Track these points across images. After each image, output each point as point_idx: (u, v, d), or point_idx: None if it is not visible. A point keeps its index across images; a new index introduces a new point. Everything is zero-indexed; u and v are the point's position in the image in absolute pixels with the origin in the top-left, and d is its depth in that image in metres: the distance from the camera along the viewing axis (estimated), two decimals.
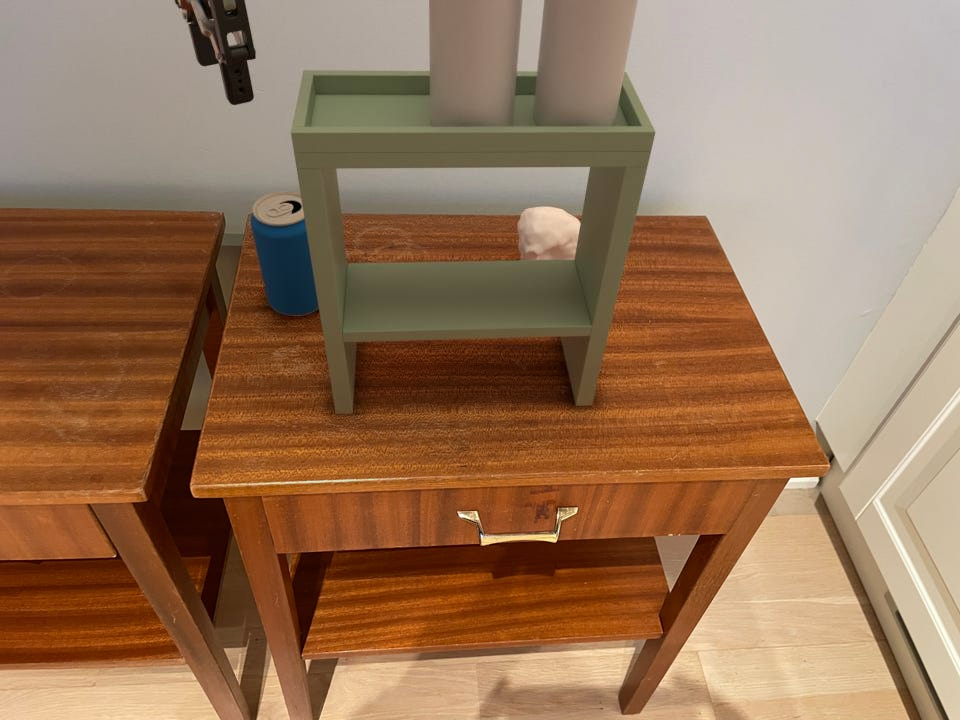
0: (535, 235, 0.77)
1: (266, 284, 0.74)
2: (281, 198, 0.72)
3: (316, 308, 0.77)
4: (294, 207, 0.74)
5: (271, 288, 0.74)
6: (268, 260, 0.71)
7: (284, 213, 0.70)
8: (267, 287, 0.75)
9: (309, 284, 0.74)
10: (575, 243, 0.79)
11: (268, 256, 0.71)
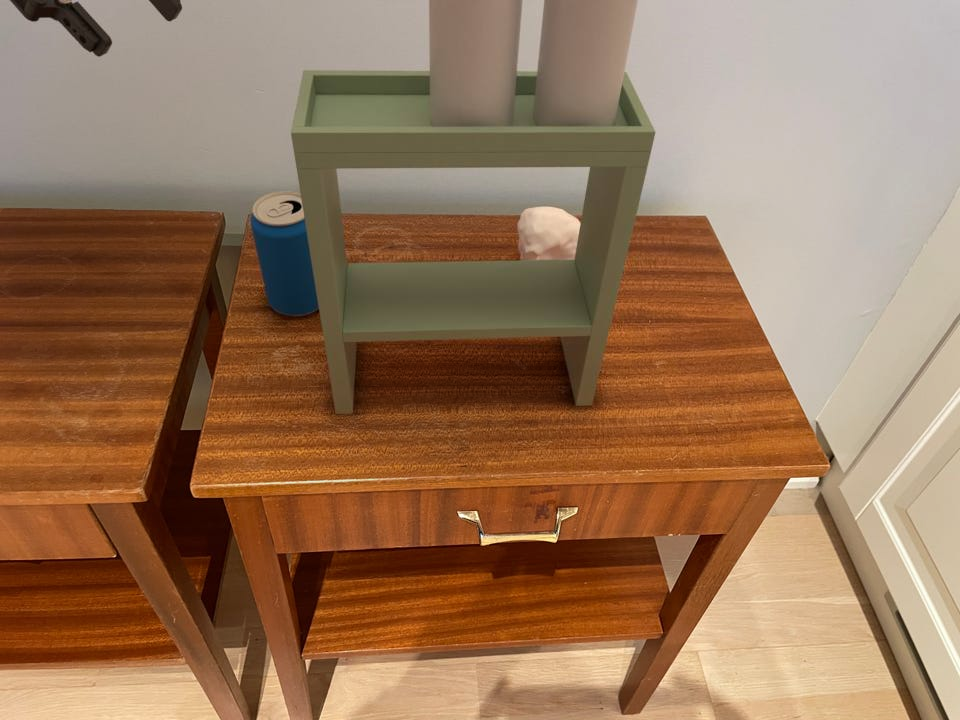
0: (535, 235, 0.77)
1: (266, 284, 0.74)
2: (281, 198, 0.72)
3: (316, 308, 0.77)
4: (294, 207, 0.74)
5: (271, 288, 0.74)
6: (268, 260, 0.71)
7: (284, 213, 0.70)
8: (267, 287, 0.75)
9: (309, 284, 0.74)
10: (575, 243, 0.79)
11: (268, 256, 0.71)
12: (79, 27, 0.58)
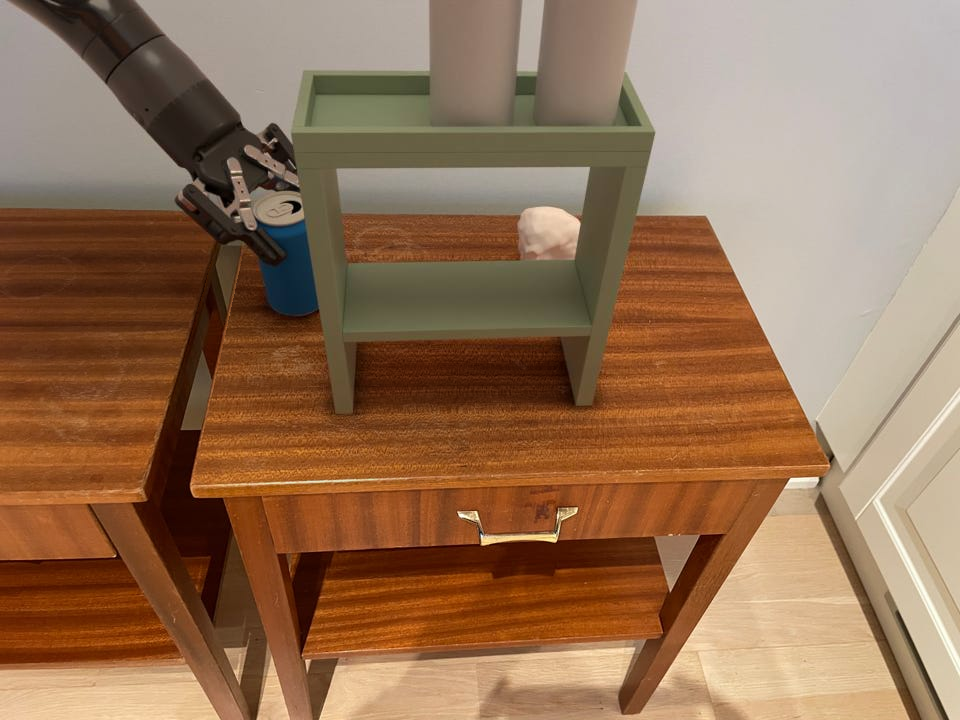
0: (535, 235, 0.77)
1: (266, 284, 0.74)
2: (280, 198, 0.72)
3: (316, 308, 0.77)
4: (294, 207, 0.74)
5: (271, 288, 0.74)
6: None
7: (284, 213, 0.70)
8: (267, 287, 0.75)
9: (309, 284, 0.74)
10: (575, 243, 0.79)
11: None
12: (262, 248, 0.68)
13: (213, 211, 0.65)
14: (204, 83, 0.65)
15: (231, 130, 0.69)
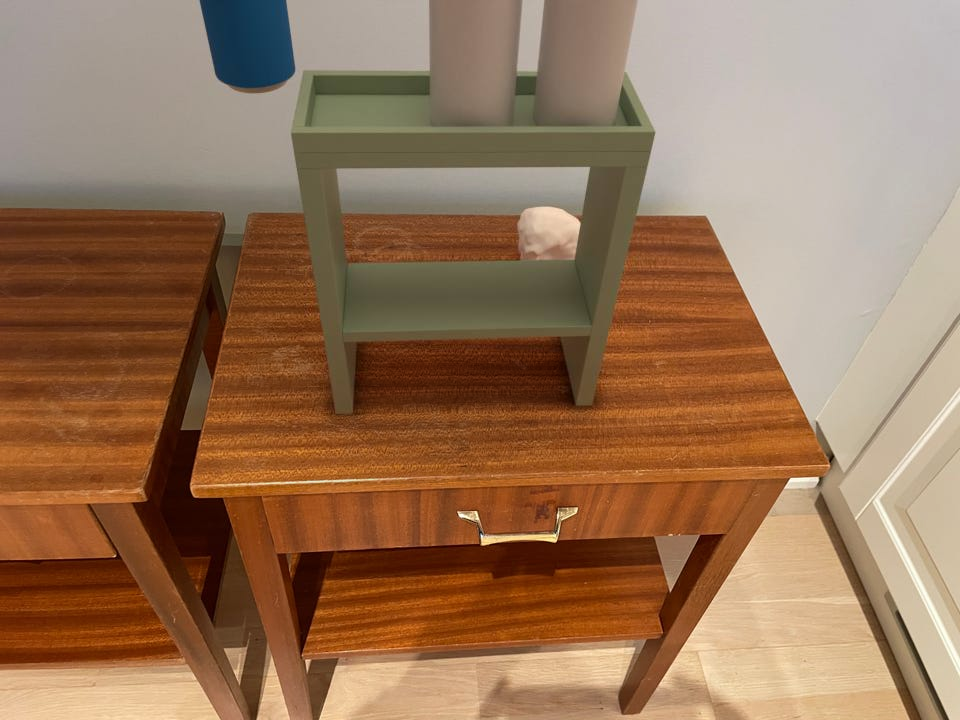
0: (535, 235, 0.77)
1: (211, 41, 0.57)
2: None
3: (278, 81, 0.59)
4: None
5: (217, 45, 0.56)
6: None
7: None
8: (212, 46, 0.57)
9: (267, 39, 0.56)
10: (575, 243, 0.79)
11: None
12: None
13: None
14: None
15: None
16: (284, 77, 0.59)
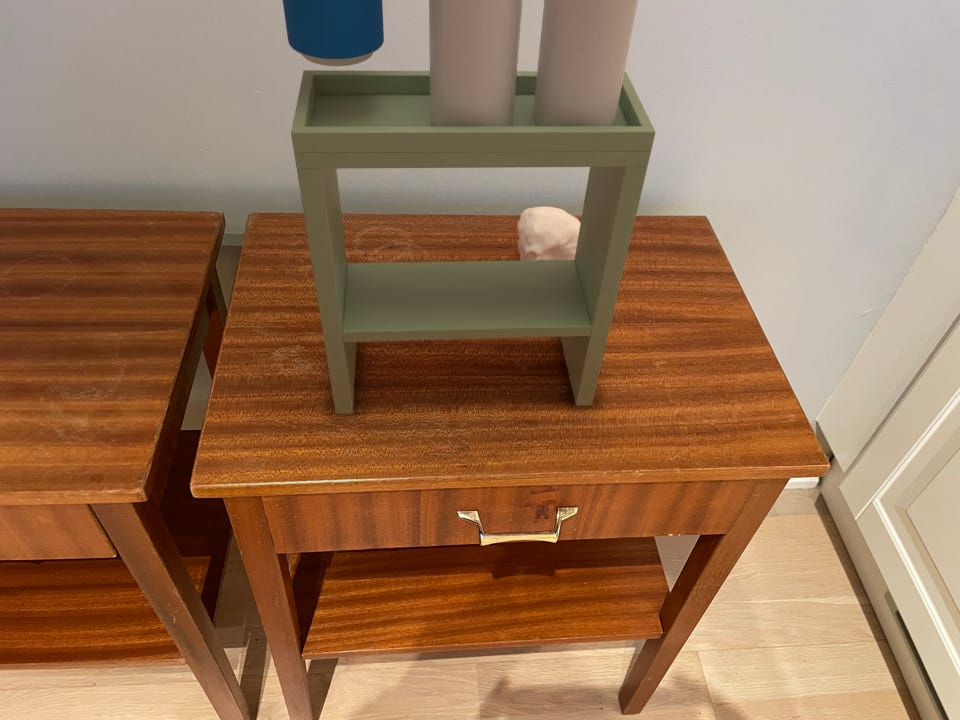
0: (535, 235, 0.77)
1: (288, 0, 0.46)
2: None
3: (366, 52, 0.48)
4: None
5: (296, 5, 0.46)
6: None
7: None
8: (290, 6, 0.46)
9: None
10: (575, 243, 0.79)
11: None
12: None
13: None
14: None
15: None
16: (373, 46, 0.49)
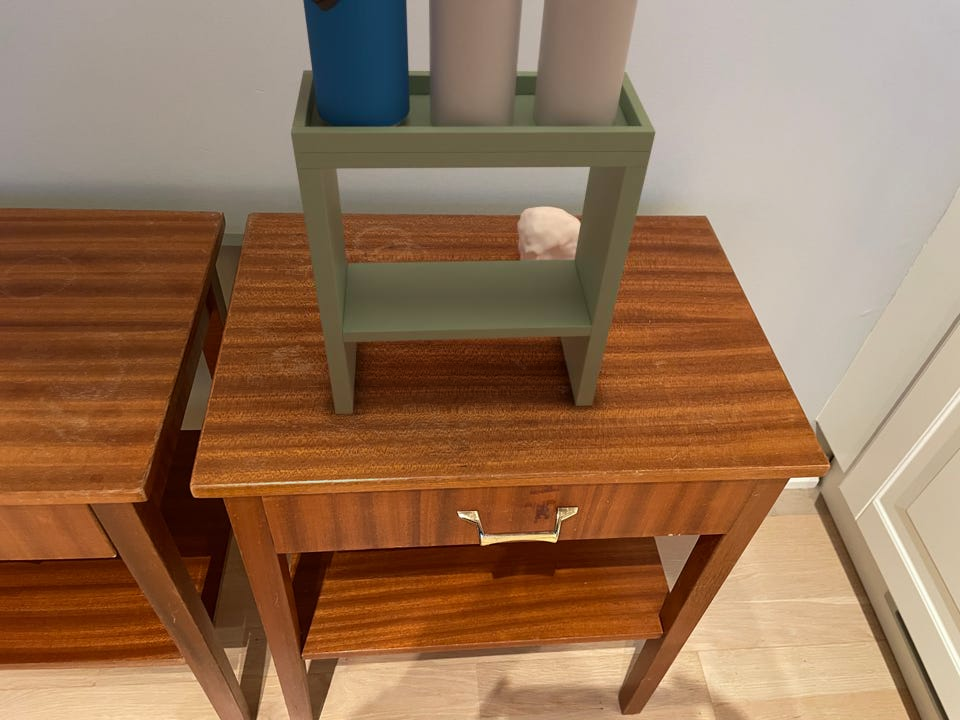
0: (535, 235, 0.77)
1: (319, 77, 0.48)
2: None
3: (393, 123, 0.50)
4: None
5: (327, 82, 0.47)
6: (325, 24, 0.44)
7: None
8: (320, 83, 0.48)
9: (387, 74, 0.47)
10: (575, 243, 0.79)
11: (327, 15, 0.44)
12: None
13: None
14: None
15: None
16: (400, 117, 0.50)
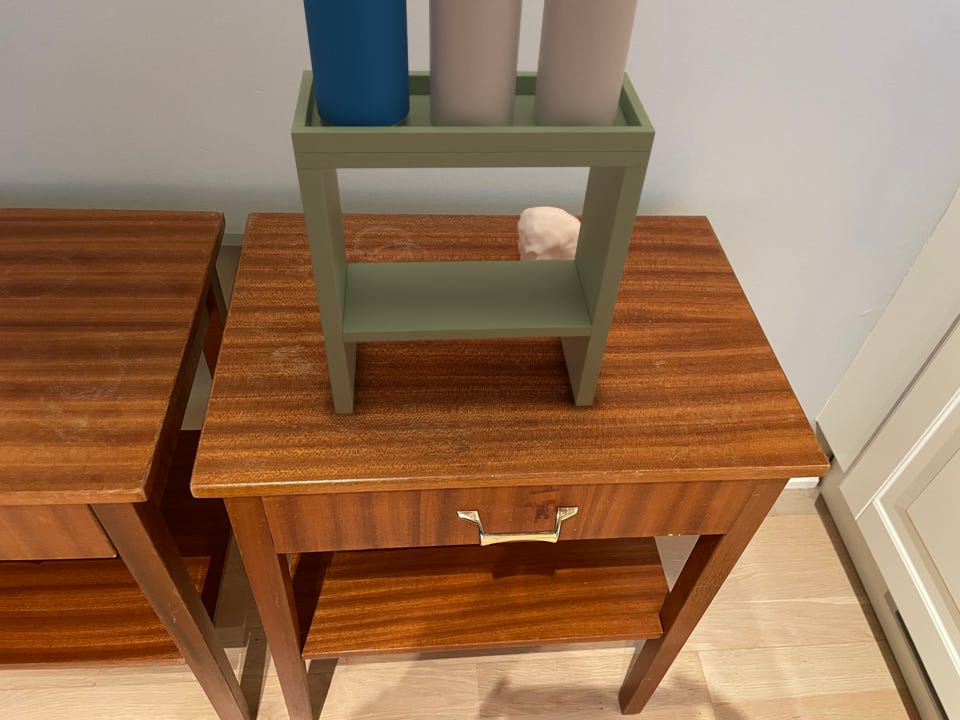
0: (535, 235, 0.77)
1: (319, 77, 0.48)
2: None
3: (393, 123, 0.50)
4: None
5: (327, 82, 0.47)
6: (325, 24, 0.44)
7: None
8: (320, 82, 0.48)
9: (387, 74, 0.47)
10: (575, 243, 0.79)
11: (327, 15, 0.44)
12: None
13: None
14: None
15: None
16: (400, 117, 0.50)
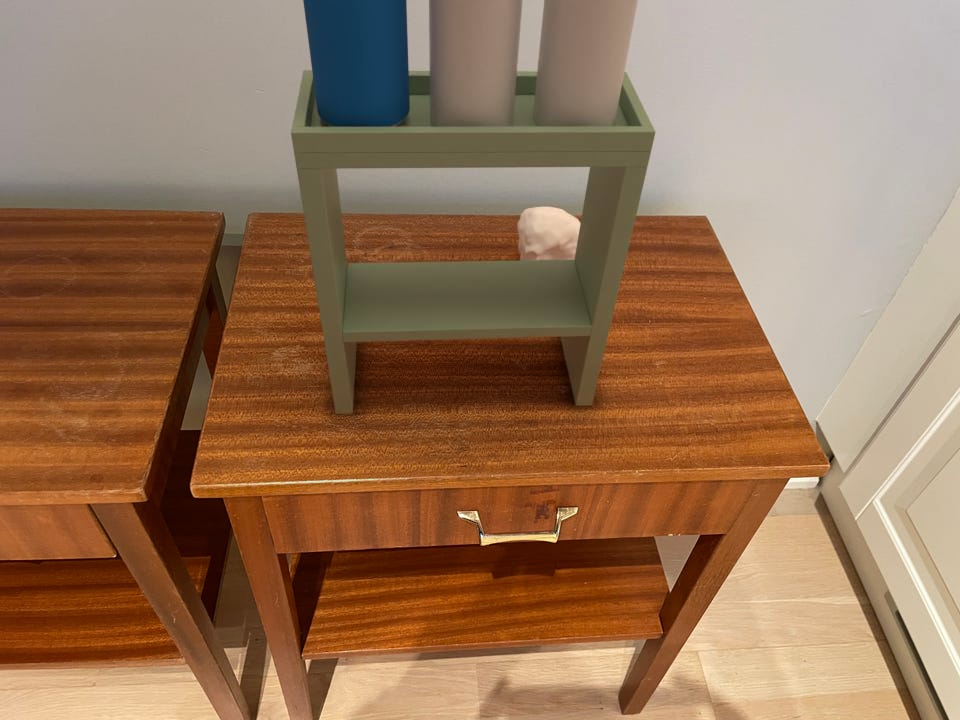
0: (535, 235, 0.77)
1: (319, 77, 0.48)
2: None
3: (393, 123, 0.50)
4: None
5: (327, 82, 0.47)
6: (325, 24, 0.44)
7: None
8: (320, 83, 0.48)
9: (387, 74, 0.47)
10: (575, 243, 0.79)
11: (327, 15, 0.44)
12: None
13: None
14: None
15: None
16: (400, 117, 0.50)
